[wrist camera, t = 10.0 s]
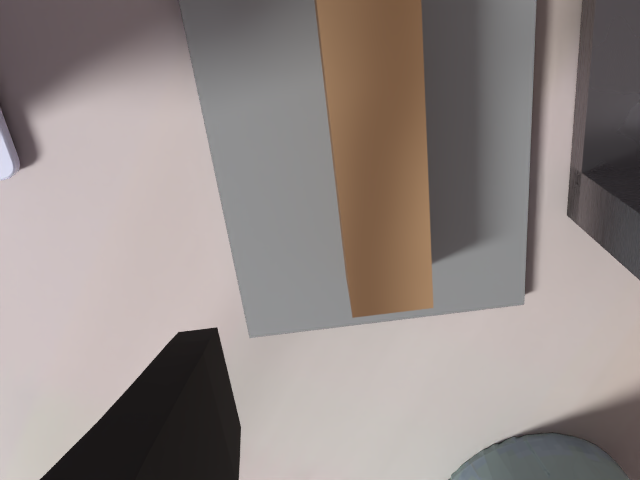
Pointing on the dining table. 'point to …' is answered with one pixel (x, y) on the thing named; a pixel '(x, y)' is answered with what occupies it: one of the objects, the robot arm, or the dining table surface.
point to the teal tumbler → (541, 460)
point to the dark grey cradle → (608, 130)
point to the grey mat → (317, 164)
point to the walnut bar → (379, 149)
